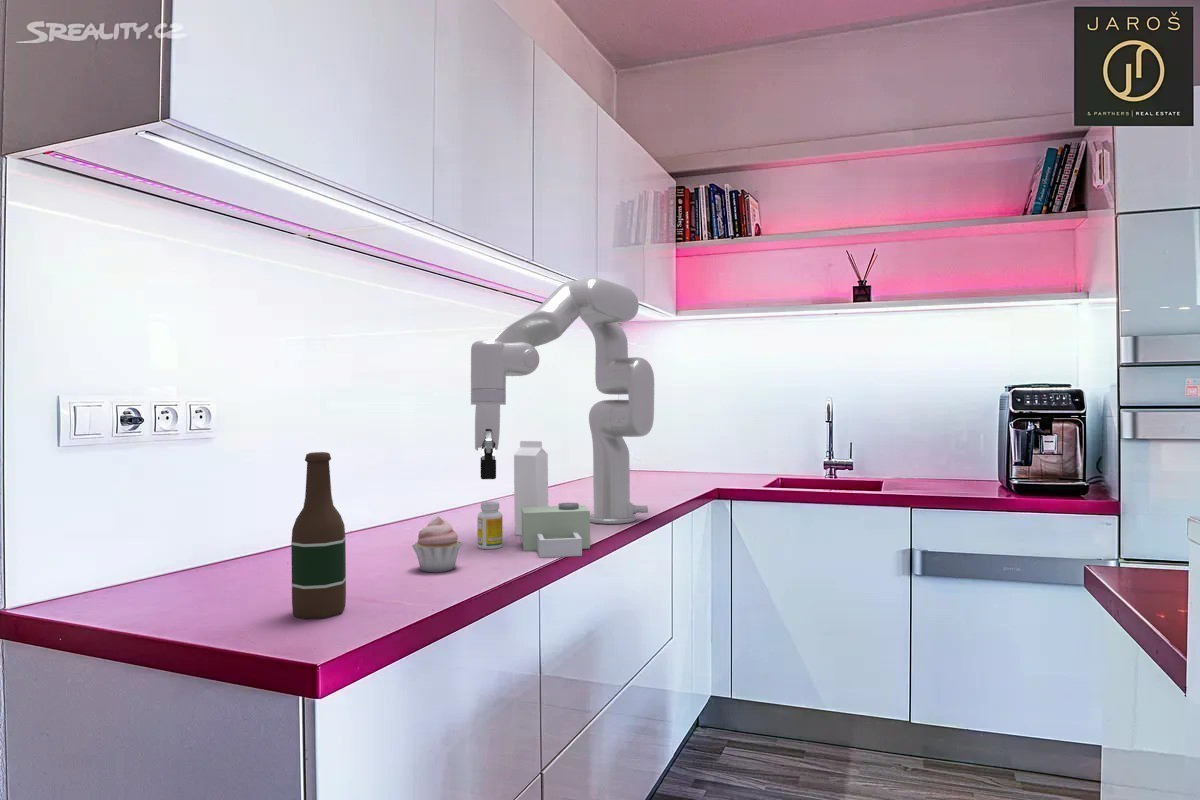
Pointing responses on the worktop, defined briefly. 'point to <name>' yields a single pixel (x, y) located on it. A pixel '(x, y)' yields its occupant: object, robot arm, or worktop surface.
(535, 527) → the green box with tray
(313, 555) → the beer bottle
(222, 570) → the worktop surface
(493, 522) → the supplement bottle
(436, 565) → the cupcake
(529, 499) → the milk
